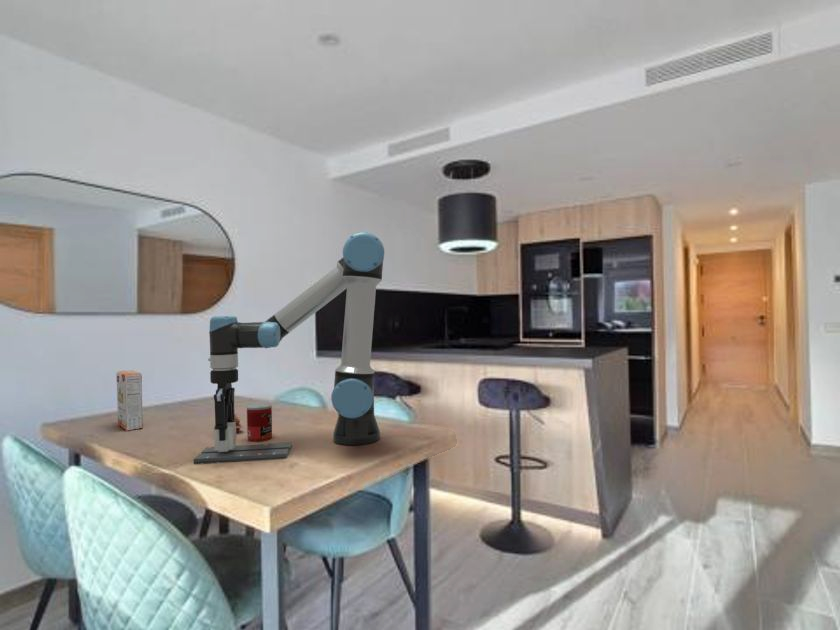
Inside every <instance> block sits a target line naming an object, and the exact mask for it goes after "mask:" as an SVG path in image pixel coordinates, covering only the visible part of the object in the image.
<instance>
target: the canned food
mask: <svg viewBox="0 0 840 630" xmlns="http://www.w3.org/2000/svg"><path fill="white" fill-rule="evenodd" d="M272 414H273V408H272V404H269V403H255V404H249V405H247V406H246V424H247V425H246V426H247V427H246V430H247V436H246V437H247V439H248V441H249V442H255V441H257V442H265V440H266V441H268V440H270V439H271V438H272V436H273V415H272Z"/></svg>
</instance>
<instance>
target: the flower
mask: <svg viewBox="0 0 840 630" xmlns="http://www.w3.org/2000/svg"><path fill="white" fill-rule="evenodd" d="M234 418H235V419H234V420H233V421H236V432H237V431H238V432H239V431H240V429H242V428H244V426H243V425H242V424H241V421H242V419H241V418H240V416H239V415H238V414H237V413H235V412H234Z"/></svg>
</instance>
